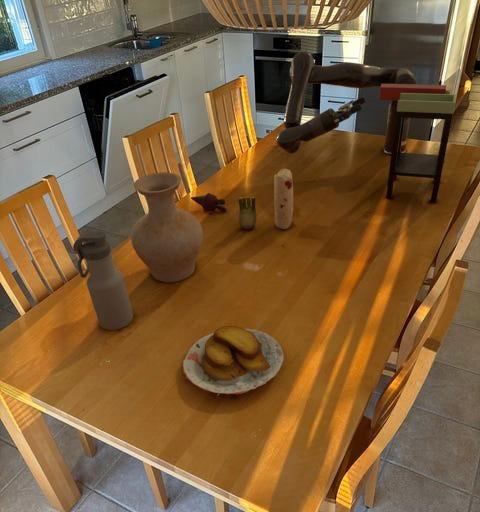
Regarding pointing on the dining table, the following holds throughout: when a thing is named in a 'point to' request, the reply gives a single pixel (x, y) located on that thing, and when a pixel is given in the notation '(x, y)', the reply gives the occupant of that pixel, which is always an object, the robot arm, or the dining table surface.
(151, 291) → the dining table surface
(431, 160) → the stand
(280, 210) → the food model
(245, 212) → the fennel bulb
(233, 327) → the food on plate
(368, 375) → the dining table surface
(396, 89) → the red bar
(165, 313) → the dining table surface
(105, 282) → the water bottle
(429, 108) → the olive green shallow box
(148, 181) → the vase
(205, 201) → the icecream
